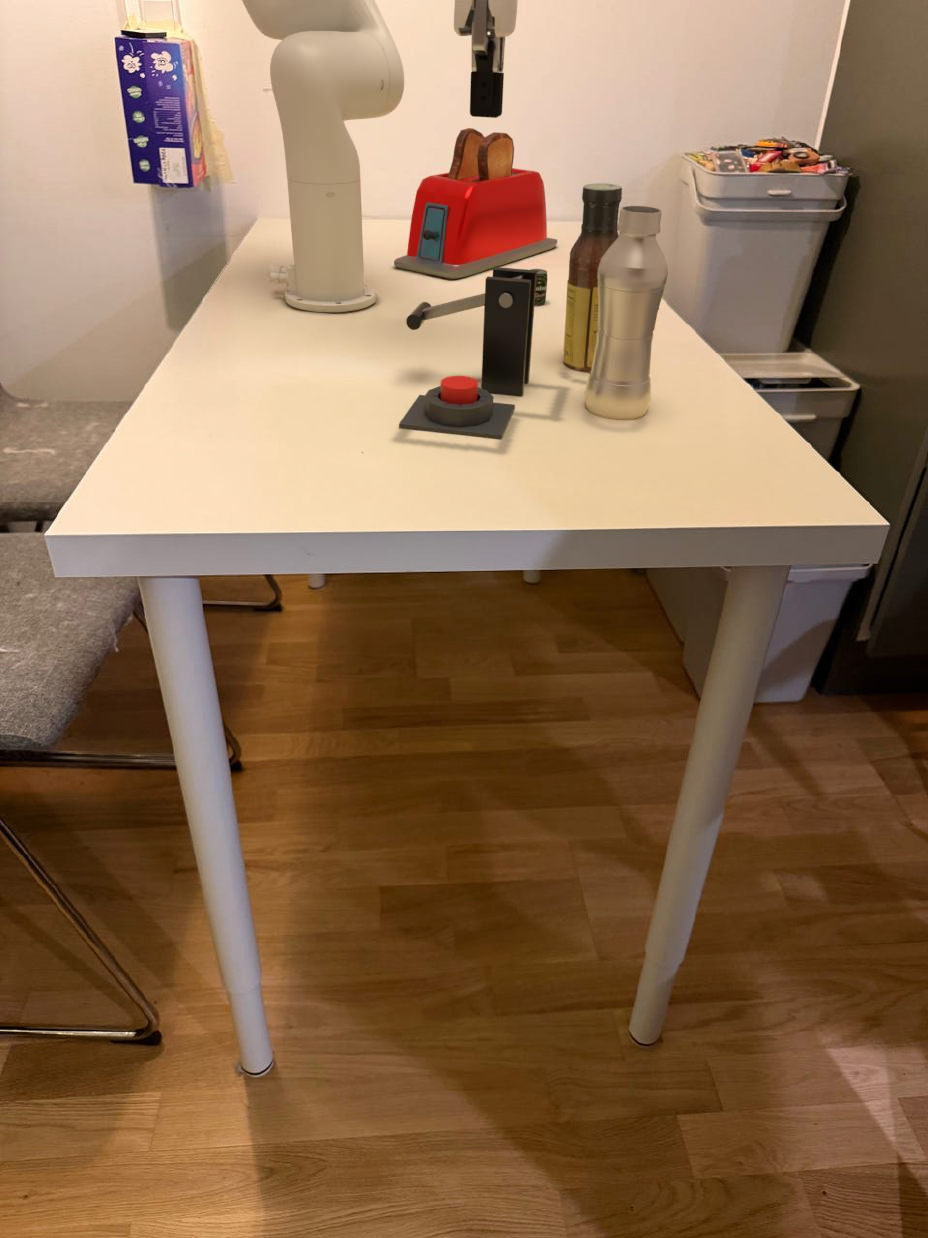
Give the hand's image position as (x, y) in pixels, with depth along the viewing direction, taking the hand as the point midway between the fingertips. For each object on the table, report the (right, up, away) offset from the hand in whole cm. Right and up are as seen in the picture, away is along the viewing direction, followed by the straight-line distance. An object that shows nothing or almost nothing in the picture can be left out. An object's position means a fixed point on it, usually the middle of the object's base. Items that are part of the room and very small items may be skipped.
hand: (485, 115), depth 94 cm
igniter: (-3, -35, -6) cm, 36 cm away
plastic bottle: (+13, -33, -3) cm, 36 cm away
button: (-3, -32, -8) cm, 33 cm away
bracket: (+2, -30, +1) cm, 30 cm away
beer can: (+8, -9, +32) cm, 34 cm away
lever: (-2, -22, -3) cm, 23 cm away
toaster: (0, +7, +55) cm, 55 cm away
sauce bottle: (+12, -26, +8) cm, 29 cm away
